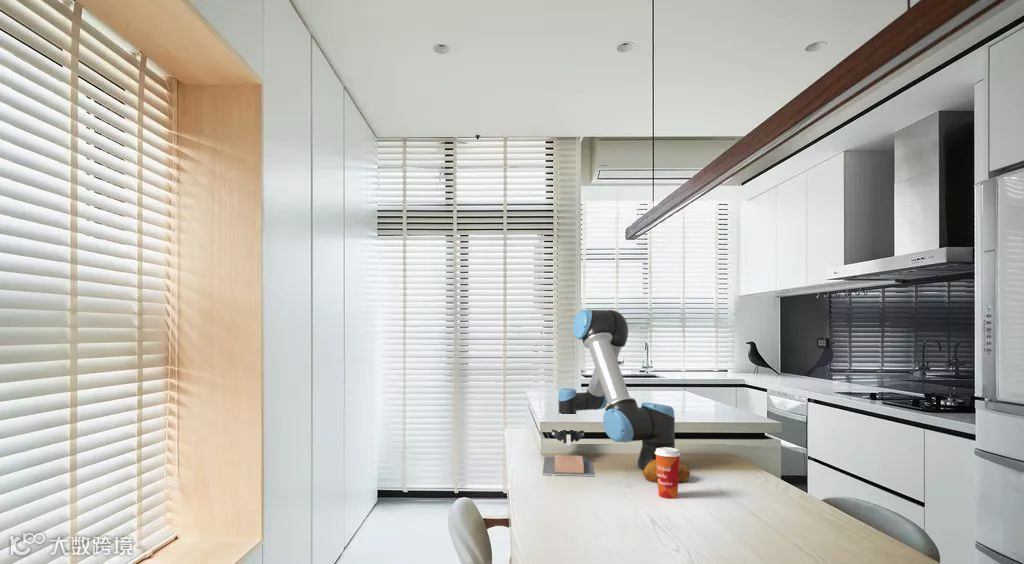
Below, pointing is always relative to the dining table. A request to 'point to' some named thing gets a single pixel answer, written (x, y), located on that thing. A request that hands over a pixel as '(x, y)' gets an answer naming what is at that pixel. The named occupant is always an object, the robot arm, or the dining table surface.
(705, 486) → the dining table surface
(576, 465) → the tile
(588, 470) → the mat
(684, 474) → the croissant
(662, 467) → the paper cup
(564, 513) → the dining table surface
